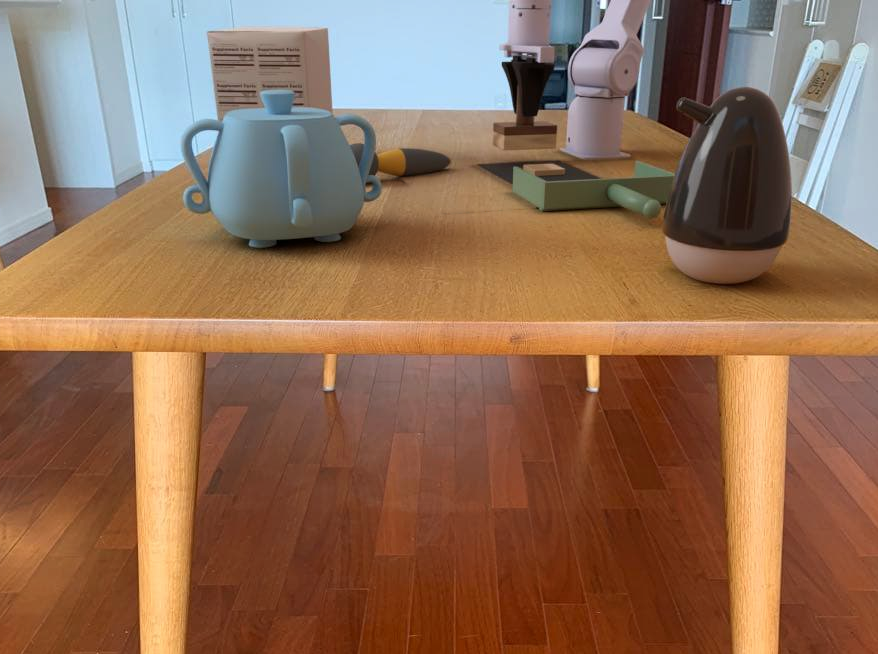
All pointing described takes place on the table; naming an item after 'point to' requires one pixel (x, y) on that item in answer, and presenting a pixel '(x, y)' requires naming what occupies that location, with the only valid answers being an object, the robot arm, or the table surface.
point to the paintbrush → (403, 161)
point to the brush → (524, 133)
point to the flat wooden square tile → (544, 169)
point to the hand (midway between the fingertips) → (525, 115)
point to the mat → (506, 174)
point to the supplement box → (269, 66)
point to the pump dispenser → (730, 190)
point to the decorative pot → (282, 172)
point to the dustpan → (599, 191)
